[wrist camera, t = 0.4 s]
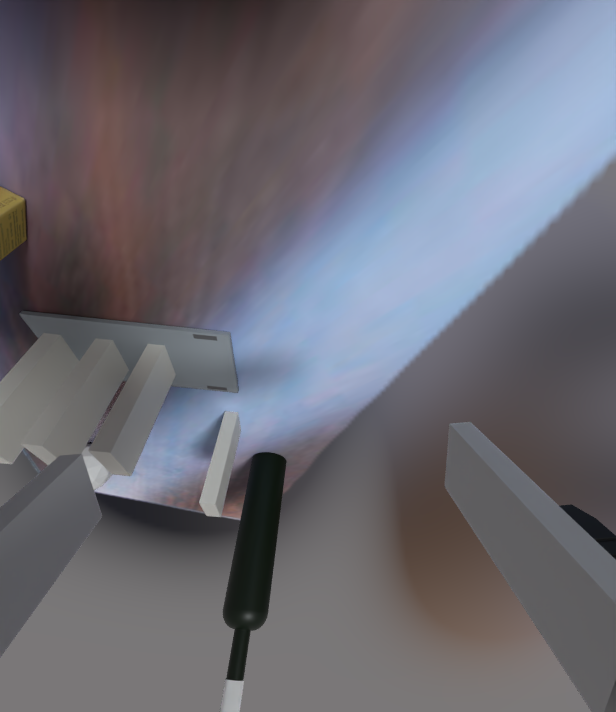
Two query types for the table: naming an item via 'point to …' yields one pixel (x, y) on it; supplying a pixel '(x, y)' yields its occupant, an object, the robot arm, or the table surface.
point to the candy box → (11, 221)
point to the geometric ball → (95, 469)
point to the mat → (184, 345)
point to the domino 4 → (221, 465)
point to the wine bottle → (252, 567)
